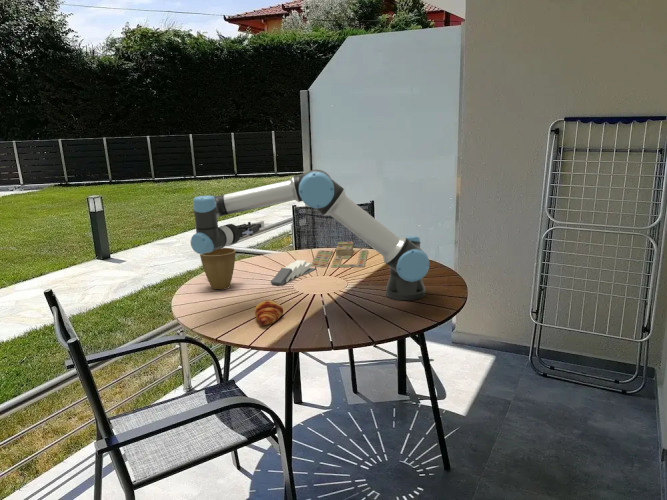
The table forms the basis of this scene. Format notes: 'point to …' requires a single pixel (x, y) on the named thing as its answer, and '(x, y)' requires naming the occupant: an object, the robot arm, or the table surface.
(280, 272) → the domino
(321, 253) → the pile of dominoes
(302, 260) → the domino
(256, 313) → the croissant
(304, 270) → the domino
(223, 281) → the plant pot
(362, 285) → the table surface
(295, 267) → the domino
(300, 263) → the domino
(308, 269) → the mat
